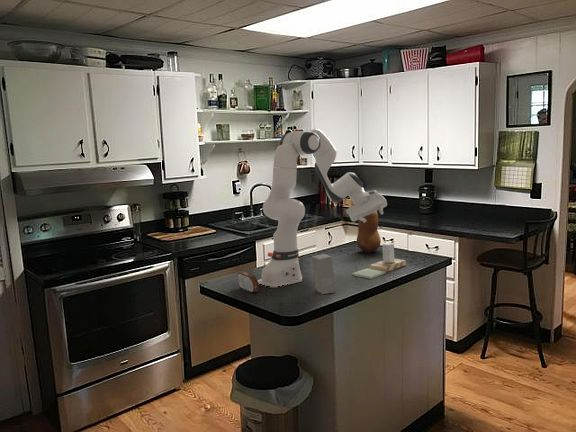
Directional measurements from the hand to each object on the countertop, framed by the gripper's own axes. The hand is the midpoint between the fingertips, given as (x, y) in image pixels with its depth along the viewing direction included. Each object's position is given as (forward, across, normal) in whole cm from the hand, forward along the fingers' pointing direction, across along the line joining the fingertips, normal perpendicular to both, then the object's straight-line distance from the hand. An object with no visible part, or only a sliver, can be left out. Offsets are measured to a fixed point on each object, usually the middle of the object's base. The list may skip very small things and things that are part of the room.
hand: (373, 217), depth 247 cm
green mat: (+24, -16, +9) cm, 30 cm away
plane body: (+18, -4, +18) cm, 26 cm away
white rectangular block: (+18, -4, +18) cm, 26 cm away
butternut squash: (-12, -5, +37) cm, 40 cm away
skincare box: (+36, -39, -9) cm, 54 cm away
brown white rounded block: (+22, -70, -14) cm, 74 cm away
